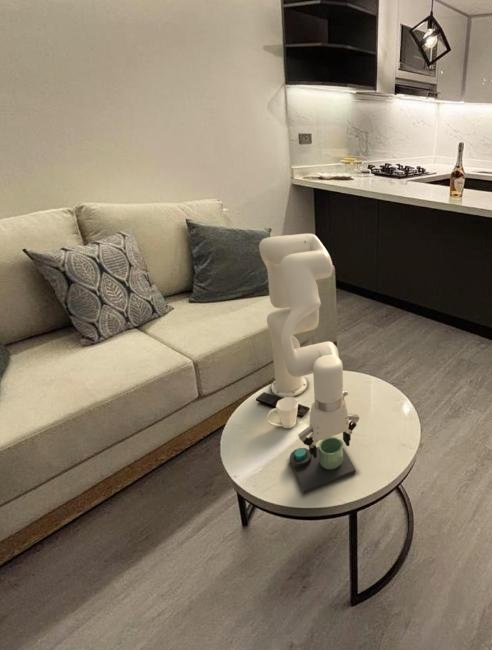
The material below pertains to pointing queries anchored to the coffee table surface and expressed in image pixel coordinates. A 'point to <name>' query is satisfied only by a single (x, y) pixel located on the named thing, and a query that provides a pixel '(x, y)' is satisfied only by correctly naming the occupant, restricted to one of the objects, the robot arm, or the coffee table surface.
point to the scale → (319, 471)
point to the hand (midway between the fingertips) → (330, 448)
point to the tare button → (300, 454)
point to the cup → (286, 412)
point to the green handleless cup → (331, 453)
